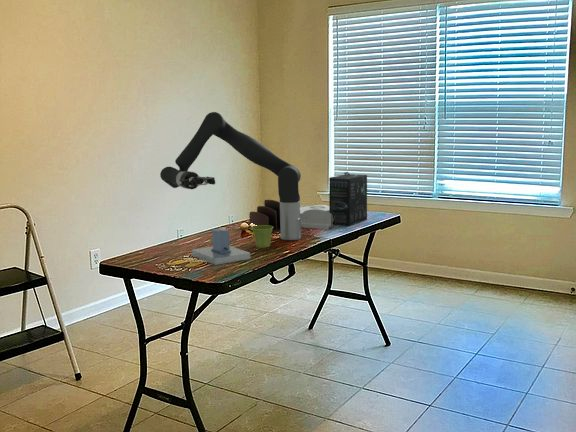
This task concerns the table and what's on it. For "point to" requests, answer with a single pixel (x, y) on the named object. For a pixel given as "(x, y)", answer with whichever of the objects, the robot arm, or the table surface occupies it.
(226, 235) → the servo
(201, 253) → the plate
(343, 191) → the headset box
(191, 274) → the table surface
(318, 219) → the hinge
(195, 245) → the table surface
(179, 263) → the table surface
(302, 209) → the white rounded slab
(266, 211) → the letter holder
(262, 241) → the plant pot
